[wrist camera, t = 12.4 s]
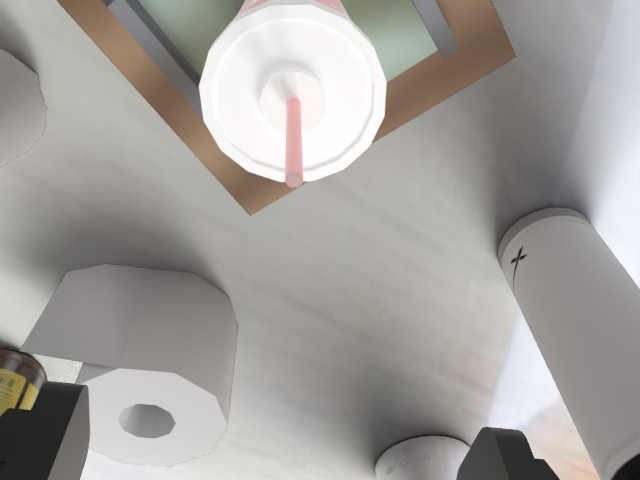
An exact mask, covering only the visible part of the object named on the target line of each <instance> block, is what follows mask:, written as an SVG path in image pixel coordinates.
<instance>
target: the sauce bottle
mask: <svg viewBox="0 0 640 480" xmlns="http://www.w3.org/2000/svg"><path fill="white" fill-rule="evenodd" d="M46 381H47V376H46V373H45V372H44V370H43V369H42V367H41V366H40V365H39V364H38V363H37V362H36V361H35V360H33V359H32V358H30V357H28V356H26V355H23V354H20V353H17V352H13V351H9V350H2V349H0V416H1V415H2V414H3V413H4V412H5V411H6V410H7V409H8V408H16V409H27V410H31V408H32V406H33V404H34V402H35V399H36V397H37V395H38V393H39V391H40V389H41V387H42V385H43V384H44V383H45V382H46Z"/></svg>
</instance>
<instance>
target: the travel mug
mask: <svg viewBox="0 0 640 480" xmlns="http://www.w3.org/2000/svg"><path fill="white" fill-rule="evenodd" d="M498 261H499V264H500V266H501V269H502V271H503V273H504V275H505V277H506V279H507V281H508V283H509V286H510V288H511V290H512V292H513V294H514V296H515V298H516V300H517V303H518V305H519V307H520V309H521V311H522V313H523V315H524V317H525V320H526V322H527V324H528V326H529V328H530V330H531V332H532V334H533V337H534V339H535V341H536V343H537V345H538V347H539V349H540V352H541V354H542V356H543V358H544V360H545V362H546V364H547V366H548V369H549V371H550V373H551V375H552V377H553V379H554V381H555V383H556V386H557V388H558V390H559V392H560V394H561V396H562V398H563V400H564V403H565V405H566V407H567V409H568V411H569V413H570V415H571V417H572V420H573V422H574V424H575V426H576V428H577V430H578V432H579V435H580V437H581V439H582V441H583V443H584V445H585V447H586V449H587V452H588V454H589V456H590V458H591V460H592V462H593V464H594V466H595V469H596V471H597V473H598V475H599V477H600V479H601V480H640V289H639V288H638V286H637V285H636V284H635V282H634V281H633V280H632V278H631V277H630V276H629V274H628V273H627V272H626V270H625V269H624V267H623V266H622V265H621V263H620V262H619V261H618V259H617V258H616V257H615V255H614V254H613V253H612V251H611V250H610V249H609V247H608V246H607V245H606V243H605V242H604V241H603V239H602V238H601V237H600V235H599V234H598V233H597V231H596V230H595V228H594V227H593V226H592V224H591V223H590V222H589V220H588V219H587V218H586V217H585V216H584V215H582V214H581V213H579V212H577V211H575V210H572V209H568V208H558V207H554V208H545V209H542V210H538V211H535V212H533V213H530V214H528V215H526V216H524V217H523V218H521V219H520V220H518V221H517V222H516V223H515V224H514V225H512V226H511V227H510V228H509V230H508V231H507V232H506V233H505V235H504V237H503V238H502V240H501V242H500V245H499V248H498Z"/></svg>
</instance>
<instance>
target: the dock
mask: <svg viewBox="0 0 640 480" xmlns="http://www.w3.org/2000/svg"><path fill="white" fill-rule="evenodd" d="M340 1H341V3H342V5H343V7H344V8H345V10H346V12H347V14H348V16H349V18H350V19H351V21H352V22H353V23H354V24H355V25H356V26H357V27H358V28H359V29H360V30H361V31H362V32H363V33H364V34H365V35H366V36H367V37H368V38H369V39H370V40H371V43H372V44H373V46H374V49H375V51H376V54H377V57H378V60H379V62H380V65H381V68H382V70H383V73H384V76H385V79H386V81H387V84H386V100H385V117H384V119H383V121H382V123H381V125H380V127H379V129H378V131H377V133H376V135H375V137H374V139H373V141H372V143H373V142H375V141H376V140H378V139H380V138H381V137H383V136H385V135H386V134H388V133H390V132H391V131H393V130H395V129H396V128H398V127H400V126H401V125H403V124H405V123H406V122H408V121H410V120H412V119H413V118H415V117H417V116H418V115H420V114H422V113H423V112H425V111H427V110H428V109H430V108H432V107H433V106H435V105H437V104H438V103H440V102H442V101H443V100H445V99H447V98H448V97H450V96H452V95H453V94H455V93H457V92H458V91H460V90H462V89H463V88H465V87H467V86H468V85H470V84H472V83H473V82H475V81H477V80H478V79H480V78H482V77H483V76H485V75H487V74H489V73H490V72H492V71H494V70H495V69H497V68H499V67H500V66H502V65H504V64H505V63H507V62H509V61H510V60H512V59H514V58H515V57H516V55H515V52H514V50H513V48H512V46H511V44H510V41H509V39H508V37H507V35H506V33H505V30H504V28H503V26H502V24H501V22H500V19H499V17H498V15H497V13H496V10H495V8H494V6H493V4H492V2H491V0H340ZM57 2H58V3H59V4H60V5H61V6H62V7H63V8H64V9H65V10H66V12H67V13H68V14H69V15H70V16H71V17H72V18H73V19H74V20H75V22H76V23H77V24H78V25H79V26H80V27H81V28H82V29H83V30H84V32H85V33H86V34H87V35H88V36H89V37H90V38H91V39H92V40H93V42H94V43H95V44H96V45H97V46H98V47H99V48H100V49H101V50H102V52H103V53H104V54H105V55H106V56H107V57H108V58H109V59H110V61H111V62H112V63H113V64H114V65H115V66H116V67H117V68H118V69H119V71H120V72H121V73H122V74H123V75H124V76H125V77H126V78H127V79H128V81H129V82H130V83H131V84H132V85H133V86H134V87H135V88H136V89H137V91H138V92H139V93H140V94H141V95H142V96H143V97H144V98H145V99H146V101H147V102H148V103H149V104H150V105H151V106H152V107H153V108H154V109H155V111H156V112H157V113H158V114H159V115H160V116H161V117H162V118H163V120H164V121H165V122H166V123H167V124H168V125H169V126H170V127H171V128H172V130H173V131H174V132H175V133H176V134H177V135H178V136H179V137H180V138H181V140H182V141H183V142H184V143H185V144H186V145H187V146H188V147H189V148H190V150H191V151H192V152H193V153H194V154H195V155H196V156H197V157H198V158H199V160H200V161H201V162H202V163H203V164H204V165H205V166H206V167H207V168H208V170H209V171H210V172H211V173H212V174H213V175H214V176H215V177H216V179H217V180H218V181H219V182H220V183H221V184H222V185H223V186H224V187H225V189H226V190H227V191H228V192H229V193H230V194H231V195H232V196H233V197H234V199H235V200H236V201H237V202H238V203H239V204H240V205H241V206H242V207H243V209H244V210H245V211H246V212H247V213H248V214H249V215H250V216H251V215H252V214H254V213H256V212H258V211H259V210H261V209H263V208H264V207H266V206H268V205H269V204H271V203H273V202H274V201H276V200H278V199H279V198H281V197H283V196H284V195H286V194H288V193H289V192H291V191H293V190H294V189H296V188H292V187H289V186H288V185H287V184H286V182H278V181H275V180H272V179H269V178H266V177H263V176H260V175H257V174H254V173H251V172H248V171H247V170H245V169H244V168H243V167H241V166H240V165H239V164H238V163H236V162H235V161H234V160H232V159H231V158H230V157H229V156H227V155H226V154H225V153H224V152H222V151H221V150H220V148H219V146H218V144H217V143H216V141H215V139H214V138H213V136H212V134H211V133H210V131H209V129H208V128H207V126H206V124H205V123H204V120H203V113H202V106H201V99H200V92H199V84H200V80H201V77H202V73H203V70H204V66H205V63H206V59H207V56H208V52H209V49H210V48H211V46H212V44H213V43H214V41H215V40H216V39H217V38H218V37H219V36H220V34H221V33H222V32H223V31H224V30H225V29H226V27H227V26H228V25H229V24H230V23H231V22H232V20H233V19H234V18H235V17H236V16H237V15H238V13H239V11H240V9H241V7H242V5H243V3H244V2H245V0H57ZM306 182H308V181H303V183H302V185H303V184H304V183H306ZM300 186H301V185H300ZM297 188H298V187H297Z"/></svg>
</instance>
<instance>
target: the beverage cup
mask: <svg viewBox="0 0 640 480" xmlns="http://www.w3.org/2000/svg"><path fill="white" fill-rule="evenodd" d="M386 84H387V81H386V79H385V76H384V73H383V70H382V68H381V65H380V62H379V60H378V57H377V54H376V51H375V49H374V46H373V44H372V43H371V40H370V39H369V38H368V37H367V36H366V35H365V34H364V33H363V32H362V31H361V30H360V29H359V28H358V27H357V26H356V25H355V24H354V23H353V22H352V21H351V19H350V18H349V16H348V14H347V12H346V10H345V8H344V7H343V5H342V3H341V1H340V0H245V2H244V3H243V5H242V7H241V9H240V11H239V13H238V15H237V16H236V17H235V18H234V19H233V20H232V22H231V23H230V24H229V25H228V26H227V27H226V29H225V30H224V31H223V32H222V33H221V34H220V36H219V37H218V38H217V39H216V40H215V41H214V43H213V44H212V46H211V48H210V49H209V52H208V56H207V59H206V63H205V66H204V70H203V73H202V77H201V80H200V84H199V92H200V99H201V106H202V113H203V120H204V123H205V124H206V126H207V128H208V129H209V131H210V133H211V134H212V136H213V138H214V139H215V141H216V143H217V144H218V146H219V148H220V150H221V151H222V152H224V153H225V154H226V155H227V156H229V157H230V158H231V159H232V160H234V161H235V162H236V163H238V164H239V165H240V166H241V167H243V168H244V169H245V170H247V171H248V172H251V173H254V174H257V175H260V176H263V177H266V178H269V179H272V180H275V181H278V182H286V184H287V185H288V186H289V187H292V188H297V187H299V186H300V185H302V183H303V181H315V180H318V179H320V178H323V177H325V176H328V175H330V174H333V173H336V172H338V171H341V170H343V169H345V168H346V167H347V166H349V165H350V164H351V163H352V162H353V161H354V160H355V159H356V158H357V157H359V156H360V155H361V154H362V153H363V152H364V151H365V150H366V149H368V148H369V147H370V145H371V143H372V141H373V139H374V137H375V135H376V133H377V131H378V129H379V127H380V125H381V123H382V121H383V119H384V117H385V100H386Z"/></svg>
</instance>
